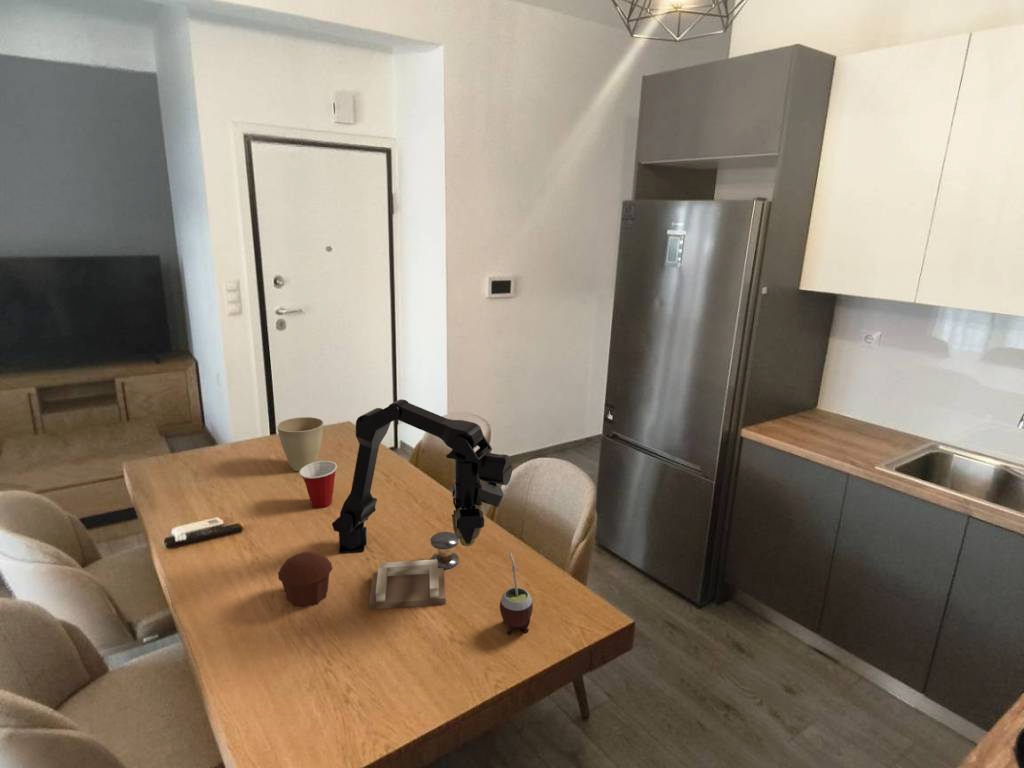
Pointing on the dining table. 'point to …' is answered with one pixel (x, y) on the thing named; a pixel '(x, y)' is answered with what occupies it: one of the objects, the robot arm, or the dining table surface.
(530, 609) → the mate gourd
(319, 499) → the plastic cup
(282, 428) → the plant pot
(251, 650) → the dining table surface
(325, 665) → the dining table surface
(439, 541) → the bobbin
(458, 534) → the cup
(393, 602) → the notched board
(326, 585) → the muffin
